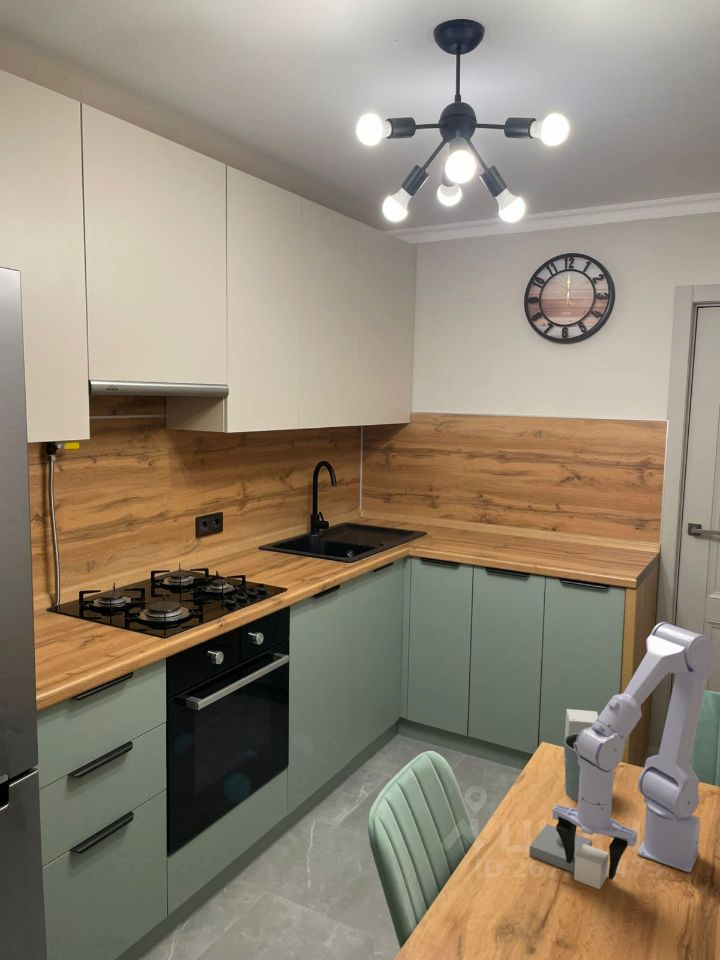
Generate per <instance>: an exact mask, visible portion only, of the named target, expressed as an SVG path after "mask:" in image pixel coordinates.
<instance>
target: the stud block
mask: <svg viewBox="0 0 720 960" xmlns="http://www.w3.org/2000/svg"><path fill="white" fill-rule="evenodd" d="M583 844H586V845H589V846H592V847H593V839H590V838H587V837H584V836H582V835H579V834H575V853H574V858H573V859H572V861H571V863H567V861H566V855H565V850H564V846H563V843H562V841H561V838H560V836H559V834H558V832H557V831H556V826H554V825H551V824H549V823H546V825H545V826H544V827H543V829H541V831H540V832H539V834H538V835H537V836H536V837H535V838H534V840H533V841H532V842H531V843H530V845H529V857H532V858H535V859H536V860H539V859H540V861H542V862H544V863H548V864H550V865H552V866H556V868H557V867H558V868H560V869H563V870H564V871H568V872H571V873H573V874H574V871H575V856H576V854H577V853H578V851H579V850H580V848H581V847H582V845H583Z"/></svg>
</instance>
